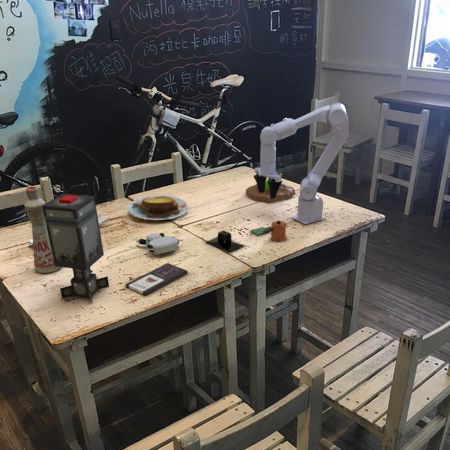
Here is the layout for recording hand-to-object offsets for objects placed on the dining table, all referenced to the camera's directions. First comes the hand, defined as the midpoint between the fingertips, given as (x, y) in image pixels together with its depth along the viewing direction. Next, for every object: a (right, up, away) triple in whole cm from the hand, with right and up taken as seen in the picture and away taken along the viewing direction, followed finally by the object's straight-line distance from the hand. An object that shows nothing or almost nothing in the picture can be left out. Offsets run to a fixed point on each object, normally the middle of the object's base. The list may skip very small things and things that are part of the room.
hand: (267, 195), depth 198 cm
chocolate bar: (-38, -35, -38) cm, 64 cm away
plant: (+3, +6, +29) cm, 29 cm away
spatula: (0, -14, -5) cm, 15 cm away
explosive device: (-59, -39, -43) cm, 83 cm away
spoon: (-76, -16, -5) cm, 77 cm away
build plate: (-17, -21, -16) cm, 31 cm away
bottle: (-75, -30, -28) cm, 86 cm away
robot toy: (-40, -23, -17) cm, 49 cm away
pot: (+1, -19, -13) cm, 23 cm away
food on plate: (-44, -4, +13) cm, 46 cm away
